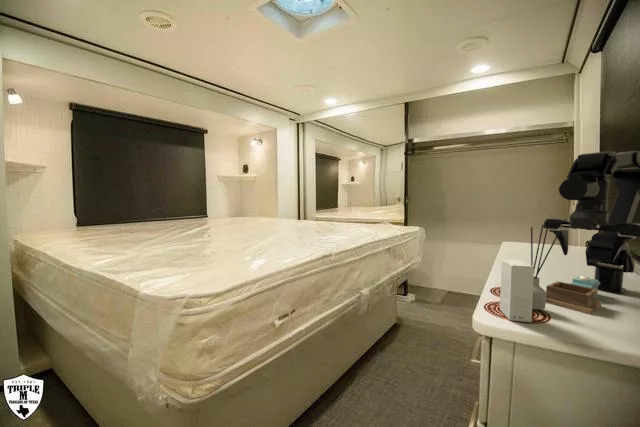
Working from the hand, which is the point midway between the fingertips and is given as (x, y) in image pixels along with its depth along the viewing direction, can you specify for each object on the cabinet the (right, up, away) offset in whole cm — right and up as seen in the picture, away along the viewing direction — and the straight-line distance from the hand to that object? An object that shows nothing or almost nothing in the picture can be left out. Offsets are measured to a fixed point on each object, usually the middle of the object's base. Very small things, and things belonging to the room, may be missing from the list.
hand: (587, 258), depth 75 cm
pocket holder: (-9, -11, -5) cm, 15 cm away
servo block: (0, -10, +1) cm, 10 cm away
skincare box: (-29, -11, -13) cm, 34 cm away
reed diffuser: (-22, -11, -10) cm, 26 cm away
